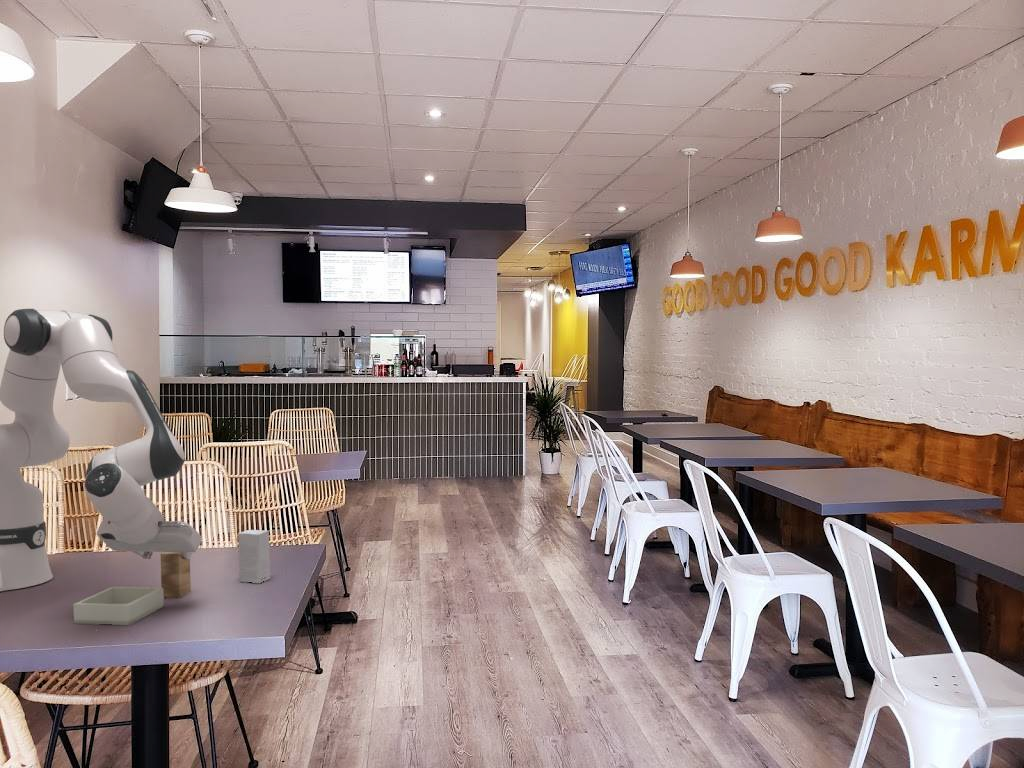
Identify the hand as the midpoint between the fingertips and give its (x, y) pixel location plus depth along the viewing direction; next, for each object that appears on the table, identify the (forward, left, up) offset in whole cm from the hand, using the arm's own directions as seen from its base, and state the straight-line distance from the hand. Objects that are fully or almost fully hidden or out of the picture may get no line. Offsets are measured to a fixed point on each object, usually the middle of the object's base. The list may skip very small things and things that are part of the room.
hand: (168, 556), depth 166 cm
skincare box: (+13, +15, -10) cm, 22 cm away
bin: (-4, -11, -9) cm, 15 cm away
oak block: (0, +3, -10) cm, 10 cm away
